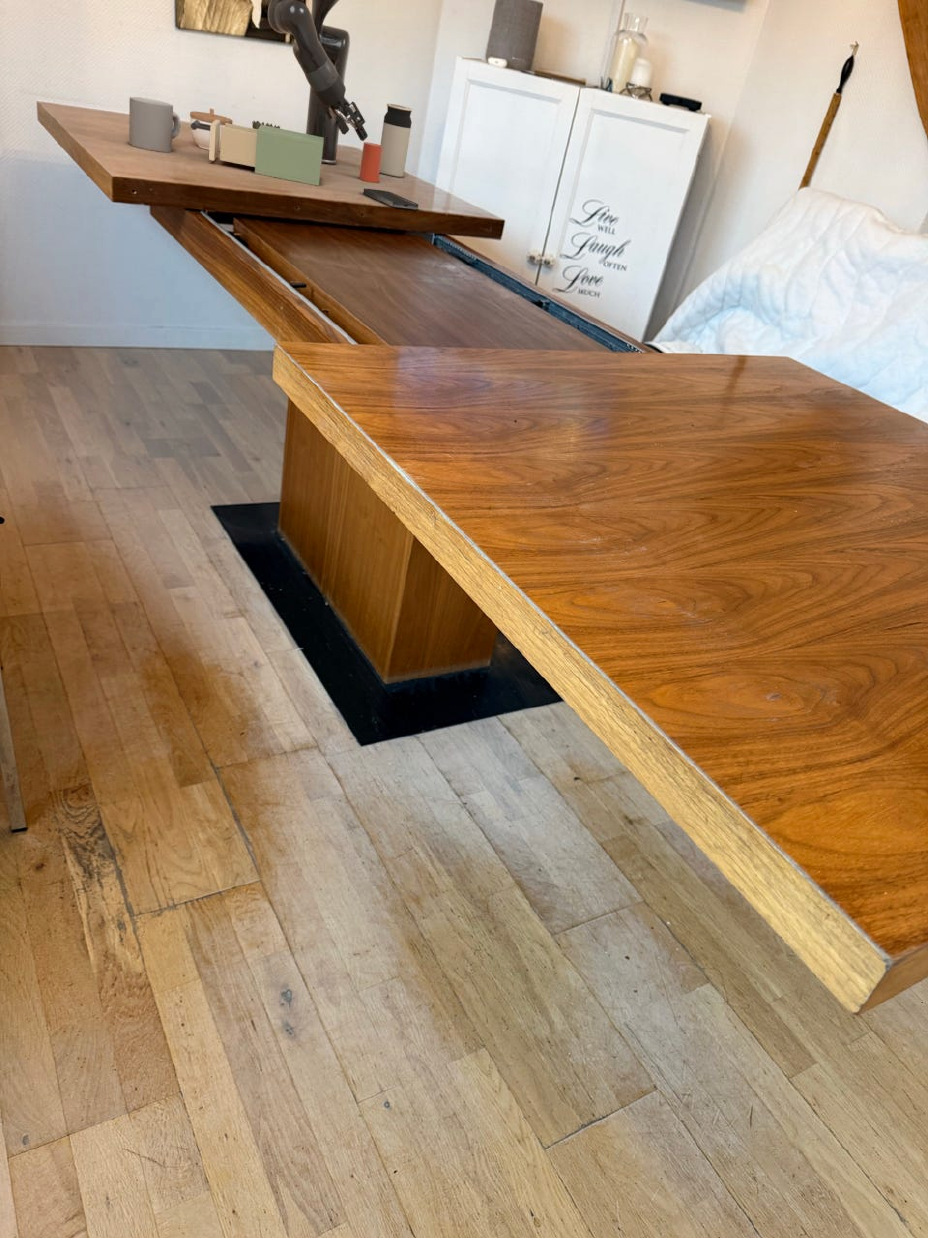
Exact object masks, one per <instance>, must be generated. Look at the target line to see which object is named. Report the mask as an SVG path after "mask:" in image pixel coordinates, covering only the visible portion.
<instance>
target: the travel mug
mask: <svg viewBox="0 0 928 1238" xmlns="http://www.w3.org/2000/svg"><path fill="white" fill-rule="evenodd" d="M386 106H387V112H386V113H385V115H383V122H382V123H383V124H382V131H381V138H380V144H379V145H381V146H383V150H382V157H381V165H380V172H379V174H382V175H384V176H388V177H389V176H390V177H394V178H402V177H404V174H405V169H406V162H407V155H408V150H409V142H410V137H411V136H410V135H411V129H412V123H413V122H412V118H411V115H412V112H413V109H412V108H411V107H408V106H403V105H399V104H394V103H386Z"/></svg>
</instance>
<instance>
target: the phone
mask: <svg viewBox="0 0 928 1238" xmlns="http://www.w3.org/2000/svg"><path fill="white" fill-rule="evenodd" d="M362 193H363V194H364V195H366V196H368V197H369V198H372V199H374V200H377V201H378V202H381V203H383V204H385V205H387V206H389V207H392V208H397V209H406V210H415V211H416V210H419V204H418V203H416V202H414V201H411V200H410V199H407V198H405V197H403V196H400V195H398V194H397V193H393V192H391V191H388V190H382V189H373V188H363V192H362Z"/></svg>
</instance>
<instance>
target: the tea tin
mask: <svg viewBox="0 0 928 1238" xmlns="http://www.w3.org/2000/svg"><path fill="white" fill-rule="evenodd" d="M382 150H383V146H381V145H380V144H378V143H373V142H368V141H363V147H362V155H361V162H360V168H359V169H360V171H359V180H362V181H364V182H368V183H375V184H376V183H377V184H378V183H379V179H380V173H379V172H380V165H381V157H382Z"/></svg>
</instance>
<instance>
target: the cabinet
mask: <svg viewBox="0 0 928 1238" xmlns="http://www.w3.org/2000/svg"><path fill="white" fill-rule="evenodd" d="M265 125H266V124H264V125H260V127H259V129H258V132H257V146H256V160H255V167H254V174H255V175H261V176H267V177H272V178H275V179H276V178H277V179H282V180H285V181H286V180H287V181H291V182H297V183H302V184H307V185H313V186H317V187H320V179H321V171H322V169H321V168H322V163H321V161H322V151H323V140H324V138H323V137H318V136H314V135H309V134H306V133H303V132H298V131H294V130H289V129H284V128H281V127H280V128H275V127H274V126H273V127H270V126H265Z"/></svg>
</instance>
